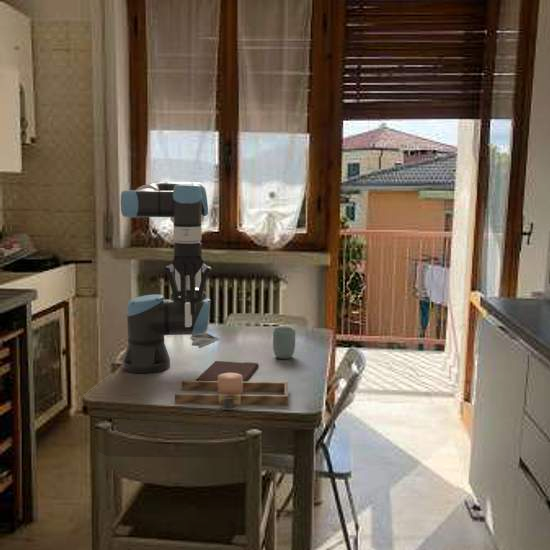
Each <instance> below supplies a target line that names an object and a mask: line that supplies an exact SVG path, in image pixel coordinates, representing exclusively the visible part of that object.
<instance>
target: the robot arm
mask: <svg viewBox="0 0 550 550" xmlns="http://www.w3.org/2000/svg"><path fill="white" fill-rule="evenodd" d="M120 213H121V216H123V217H124V218H133V219H134V218H169V220H170V222H171V223H172V224H173V240H174V243H173V259H172V260H171V264H169V265H166V266H165V267H164V268H163V270H164V272H165V273H166V275H167V277H168V280H169V285H170V288H171V289H170V290H171V293H170V298H169V299H165V297H164V295H163V294H147V295H141V296H137V297H134V298H132V299H130V300H129V301H128V303H127V304H126V305H127V311H126V317H127V347H126V350H125V352H124V353H125V354H124V356H123V360H122V368H123V370H124V371H125V372H128V373H133V374H151V373H158V372H162V371H165V370H168V369H169V368H170V367H171V358H170V355H169V352H168V349H167V346H166V343H165V336H185V335H187V336H189V335H191V336H192V335H194V334H203V333H207V331H208V326H209V317H210V308H211V299H210V298H208V297H207V293H206V291H205V287H206V283H207V279H208V275H209V273H210V272H211V271H212V267H211V266H209V265H207V264H205V262H204V260H203V257H202V252H203V251H202V250H203V249H202V242H201V241H202V240H203V239H202V235H203V233H202V231H203V230H202V223H203V222H204V221H205V217H207V216H208V215H209V206H208V196H207V191H206V187H205V185H204V184H203V183H202V182H194V181H189V182H188V181H187V182H186V181H182V182H181V181H178V182H177V181H155V182H151V183H147V184H143V185H141V186H139V187H137V188H136V189H135V190H134V189H130V190H122V191H121V193H120Z"/></svg>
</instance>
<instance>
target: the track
mask: <svg viewBox="0 0 550 550" xmlns="http://www.w3.org/2000/svg"><path fill="white" fill-rule="evenodd" d="M180 386H181V387H180V389H188V390H187V391H215V390H218V381H196V380H181V383H180ZM242 392H283V393H284V394H242V395H240V394H218V393H174V404H175V403H198V404H197V405H224V408H227V409H230V408H231V409H233V408H234V405H243V406H244V405H245V406H249V405H250V406H255V405H256V406H288V405H289V382H286V381H283V382H282V381H247V382H242Z"/></svg>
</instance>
